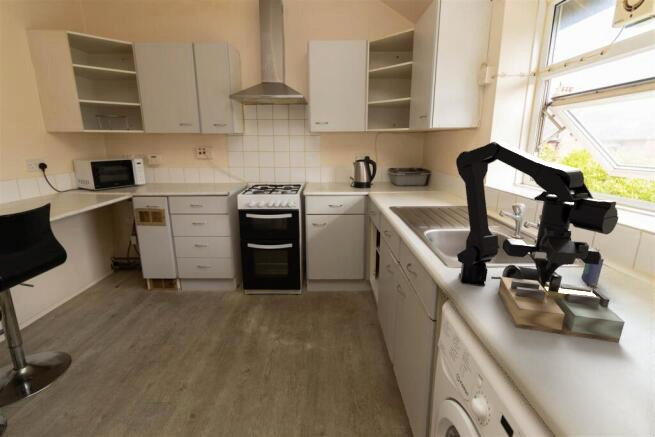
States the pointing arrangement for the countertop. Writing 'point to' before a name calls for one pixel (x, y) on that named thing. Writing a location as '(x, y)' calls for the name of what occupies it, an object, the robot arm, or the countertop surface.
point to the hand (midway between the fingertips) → (542, 283)
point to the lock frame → (560, 310)
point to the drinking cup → (521, 273)
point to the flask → (592, 273)
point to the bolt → (556, 292)
